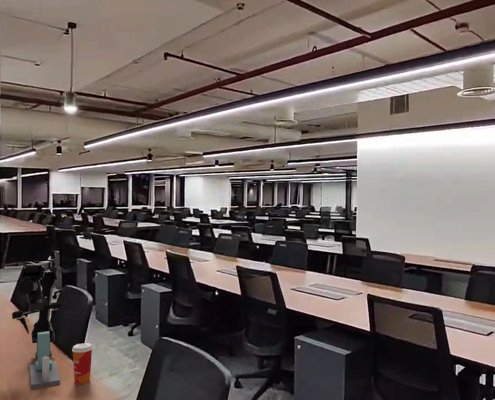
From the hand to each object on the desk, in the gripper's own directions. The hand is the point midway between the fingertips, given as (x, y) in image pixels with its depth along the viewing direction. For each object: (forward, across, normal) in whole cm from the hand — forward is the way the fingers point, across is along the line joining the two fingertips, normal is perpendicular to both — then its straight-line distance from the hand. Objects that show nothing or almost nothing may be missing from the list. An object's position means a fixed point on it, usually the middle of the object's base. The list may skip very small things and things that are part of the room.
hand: (40, 330), depth 185 cm
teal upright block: (+15, -1, 0) cm, 15 cm away
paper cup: (+23, +11, -15) cm, 30 cm away
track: (+18, -2, -3) cm, 18 cm away
